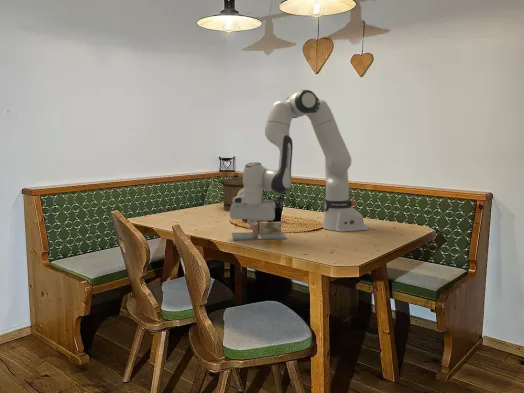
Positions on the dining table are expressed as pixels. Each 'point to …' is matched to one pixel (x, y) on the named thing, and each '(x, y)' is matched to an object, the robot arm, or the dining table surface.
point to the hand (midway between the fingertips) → (252, 229)
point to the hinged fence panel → (255, 230)
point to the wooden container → (232, 190)
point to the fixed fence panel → (269, 227)
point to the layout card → (258, 236)
